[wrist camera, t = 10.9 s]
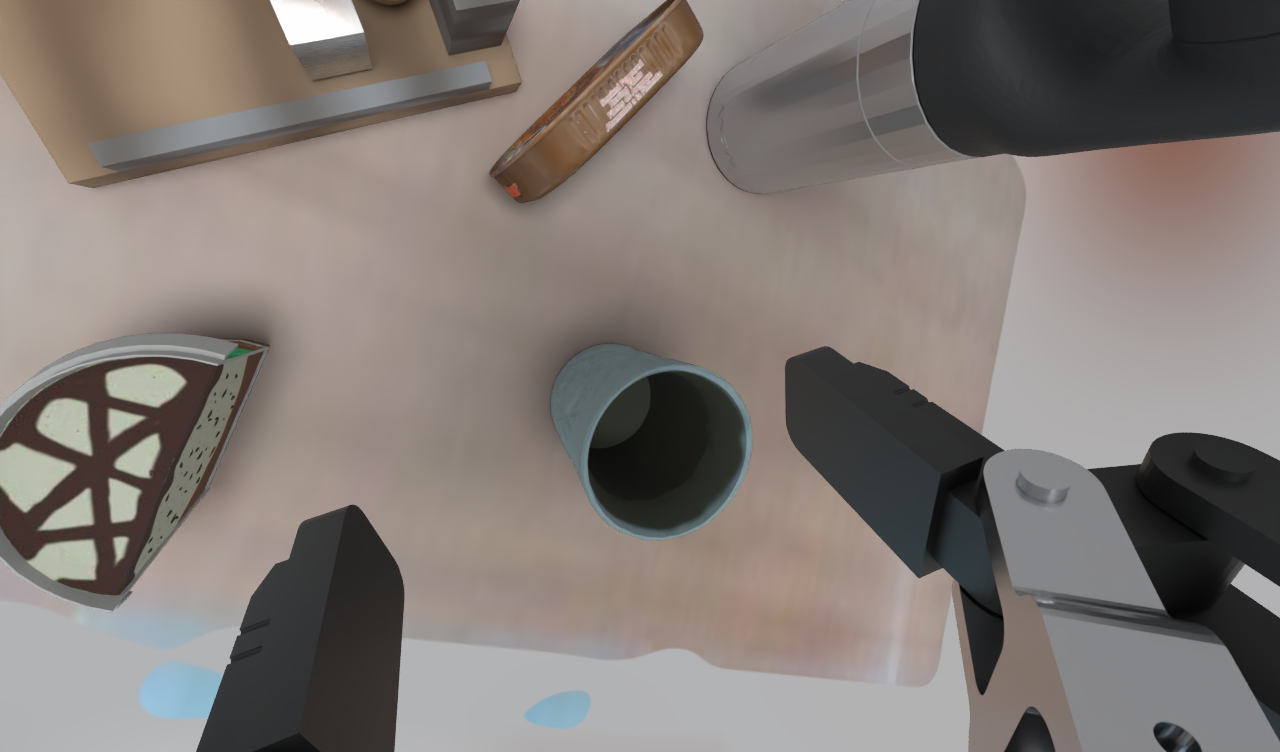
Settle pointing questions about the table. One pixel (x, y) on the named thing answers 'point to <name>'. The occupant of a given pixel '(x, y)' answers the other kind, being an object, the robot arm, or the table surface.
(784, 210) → the table surface
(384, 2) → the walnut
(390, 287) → the table surface
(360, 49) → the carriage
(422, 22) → the railed wooden base
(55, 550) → the food container
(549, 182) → the tin
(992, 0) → the robot arm
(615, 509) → the teal cup
